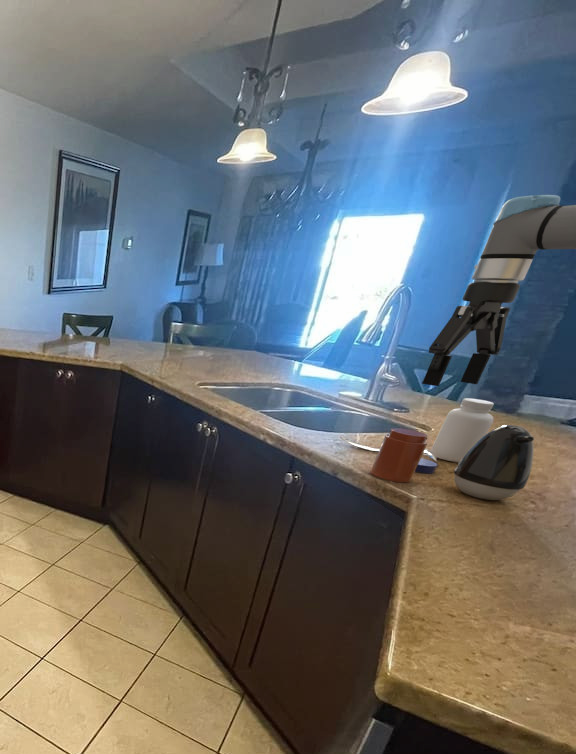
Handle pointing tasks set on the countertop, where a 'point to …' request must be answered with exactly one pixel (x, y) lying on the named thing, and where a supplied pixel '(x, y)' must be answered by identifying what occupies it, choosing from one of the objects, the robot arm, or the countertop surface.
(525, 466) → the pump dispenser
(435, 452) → the pill bottle
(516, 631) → the countertop surface
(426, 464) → the lid
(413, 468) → the jar
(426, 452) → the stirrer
